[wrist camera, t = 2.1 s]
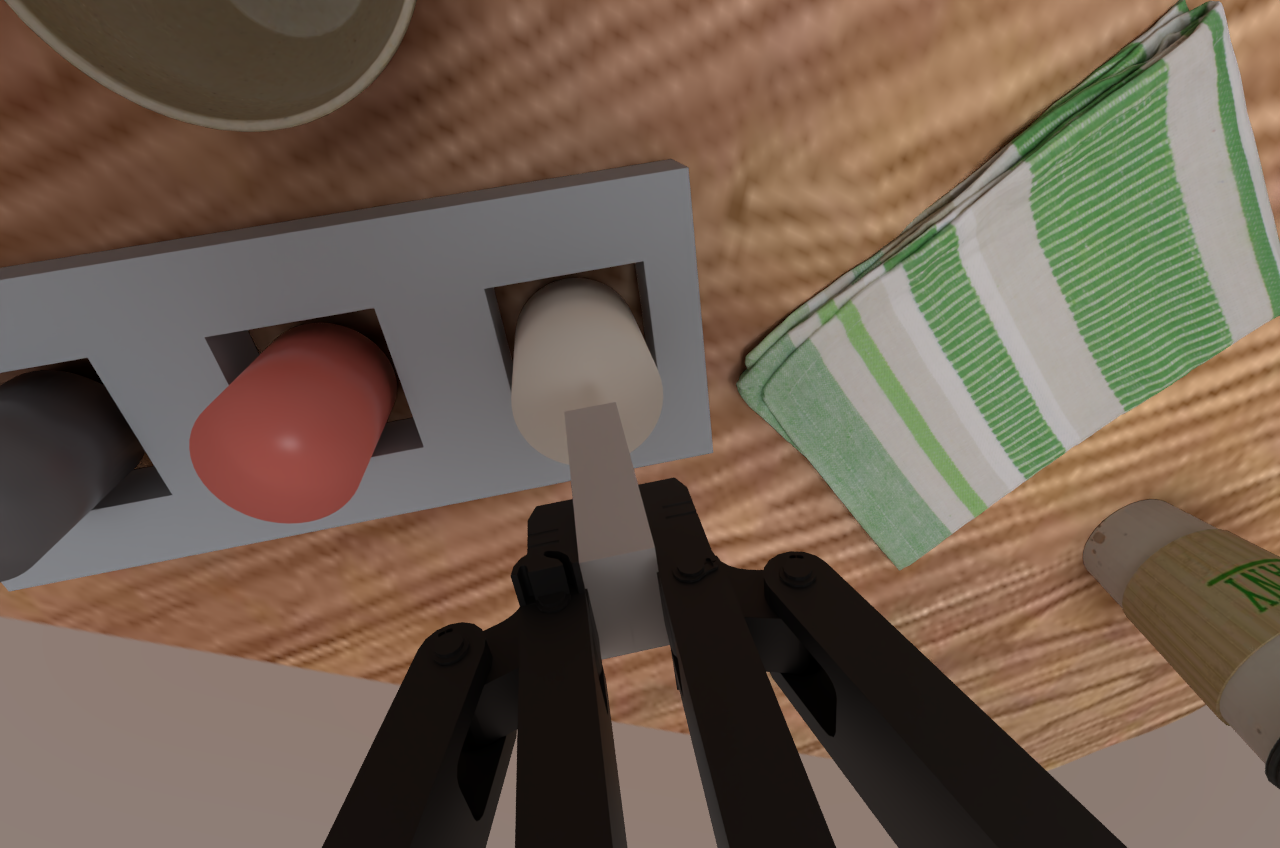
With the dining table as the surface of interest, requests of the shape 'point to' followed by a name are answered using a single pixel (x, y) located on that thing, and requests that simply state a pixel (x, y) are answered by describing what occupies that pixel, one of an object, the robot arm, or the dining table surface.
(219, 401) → the button red
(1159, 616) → the coffee cup
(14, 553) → the button black
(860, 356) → the dish towel
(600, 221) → the panel
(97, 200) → the dining table surface
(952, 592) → the dining table surface
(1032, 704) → the dining table surface
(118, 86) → the flower pot
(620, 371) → the button ivory
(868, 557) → the dining table surface
